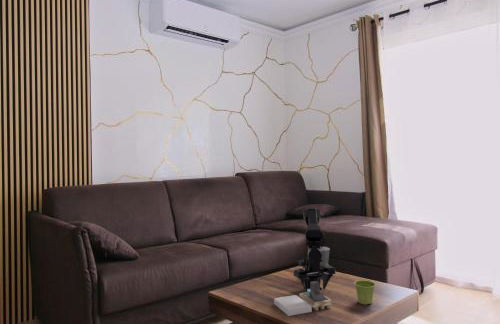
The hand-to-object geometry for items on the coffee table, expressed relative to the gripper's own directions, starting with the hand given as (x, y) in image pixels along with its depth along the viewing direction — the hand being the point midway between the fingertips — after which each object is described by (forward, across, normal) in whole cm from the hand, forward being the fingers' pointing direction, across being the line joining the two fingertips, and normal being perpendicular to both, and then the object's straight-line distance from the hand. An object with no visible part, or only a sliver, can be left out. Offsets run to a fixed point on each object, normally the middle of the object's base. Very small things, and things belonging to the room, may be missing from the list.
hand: (314, 290), depth 183 cm
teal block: (+4, 0, -3) cm, 5 cm away
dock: (+6, +12, 0) cm, 13 cm away
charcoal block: (+4, 0, +3) cm, 5 cm away
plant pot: (+6, -22, +8) cm, 24 cm away
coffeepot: (+6, -24, -34) cm, 42 cm away
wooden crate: (+6, 0, 0) cm, 6 cm away
